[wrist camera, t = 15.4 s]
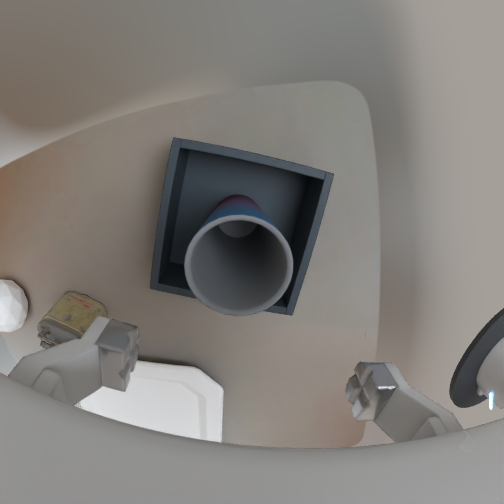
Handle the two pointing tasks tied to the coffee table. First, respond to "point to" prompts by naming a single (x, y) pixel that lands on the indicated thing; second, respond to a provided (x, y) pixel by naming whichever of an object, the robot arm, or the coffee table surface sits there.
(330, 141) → the coffee table surface
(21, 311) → the geometric ball
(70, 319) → the lighter
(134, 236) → the coffee table surface
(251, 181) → the tub
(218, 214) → the cup
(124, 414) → the plate
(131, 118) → the coffee table surface
